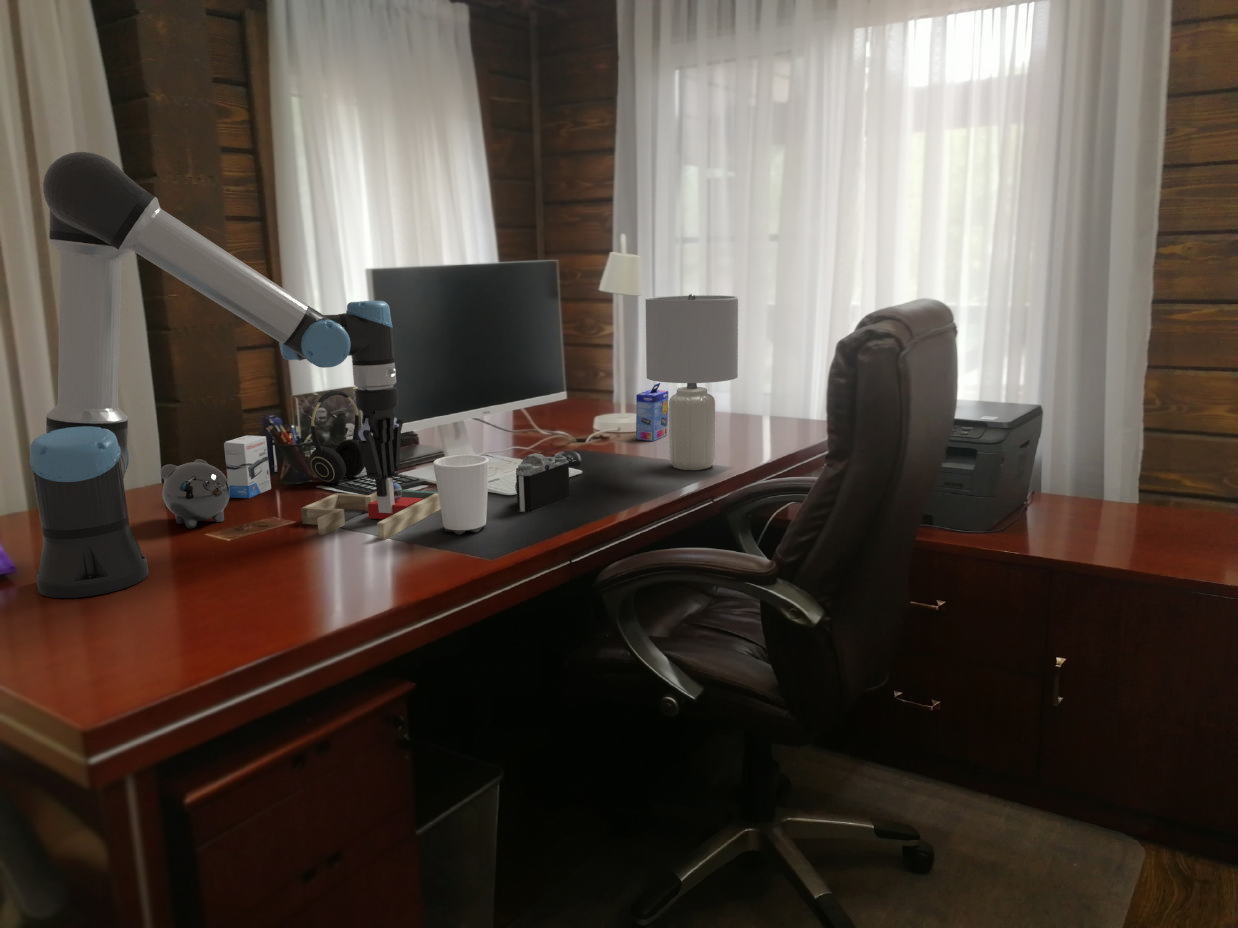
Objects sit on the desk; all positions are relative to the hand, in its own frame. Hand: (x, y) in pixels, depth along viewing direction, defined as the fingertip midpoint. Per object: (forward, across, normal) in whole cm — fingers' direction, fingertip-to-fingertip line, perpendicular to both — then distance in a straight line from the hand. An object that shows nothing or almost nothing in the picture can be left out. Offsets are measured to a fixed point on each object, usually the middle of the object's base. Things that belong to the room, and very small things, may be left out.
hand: (387, 511), depth 177 cm
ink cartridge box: (+2, +88, -27) cm, 92 cm away
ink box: (+1, +11, +40) cm, 41 cm away
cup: (+2, -2, -17) cm, 17 cm away
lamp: (+3, +57, -45) cm, 72 cm away
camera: (+2, +19, -23) cm, 30 cm away
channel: (+2, 0, +4) cm, 5 cm away
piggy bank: (+1, -10, +35) cm, 36 cm away
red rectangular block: (+2, +3, 0) cm, 3 cm away
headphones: (+2, +26, +28) cm, 38 cm away
